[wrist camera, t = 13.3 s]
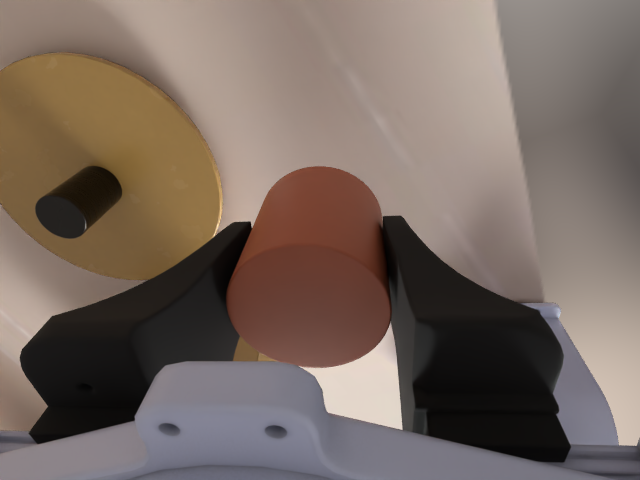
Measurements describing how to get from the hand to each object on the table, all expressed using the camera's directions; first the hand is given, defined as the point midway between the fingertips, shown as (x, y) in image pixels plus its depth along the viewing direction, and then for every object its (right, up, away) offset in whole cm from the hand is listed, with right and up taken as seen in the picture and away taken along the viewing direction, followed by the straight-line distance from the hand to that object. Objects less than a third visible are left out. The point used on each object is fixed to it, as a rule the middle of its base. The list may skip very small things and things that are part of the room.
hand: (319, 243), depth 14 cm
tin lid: (-12, +3, +8) cm, 15 cm away
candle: (0, +1, +1) cm, 1 cm away
